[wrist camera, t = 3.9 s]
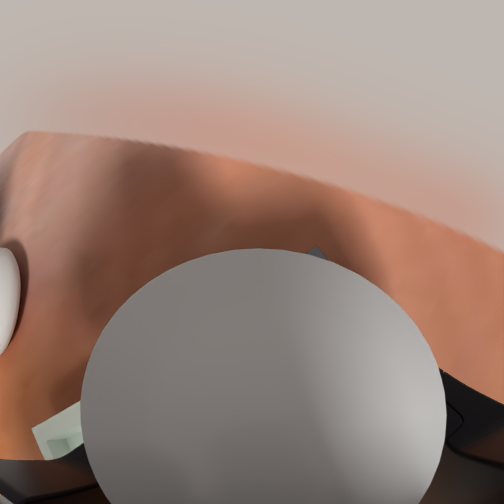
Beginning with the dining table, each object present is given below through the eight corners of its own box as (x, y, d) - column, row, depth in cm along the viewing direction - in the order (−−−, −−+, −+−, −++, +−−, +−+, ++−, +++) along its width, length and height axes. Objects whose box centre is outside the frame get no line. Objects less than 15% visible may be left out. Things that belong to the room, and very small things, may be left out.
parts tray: (270, 542, 10) (262, 568, 7) (151, 566, 9) (131, 583, 6) (151, 375, 15) (123, 374, 13) (60, 426, 15) (31, 428, 12)
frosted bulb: (345, 387, 13) (496, 452, 1) (285, 427, 13) (199, 600, 1) (305, 331, 15) (294, 183, 3) (245, 371, 15) (44, 360, 3)
